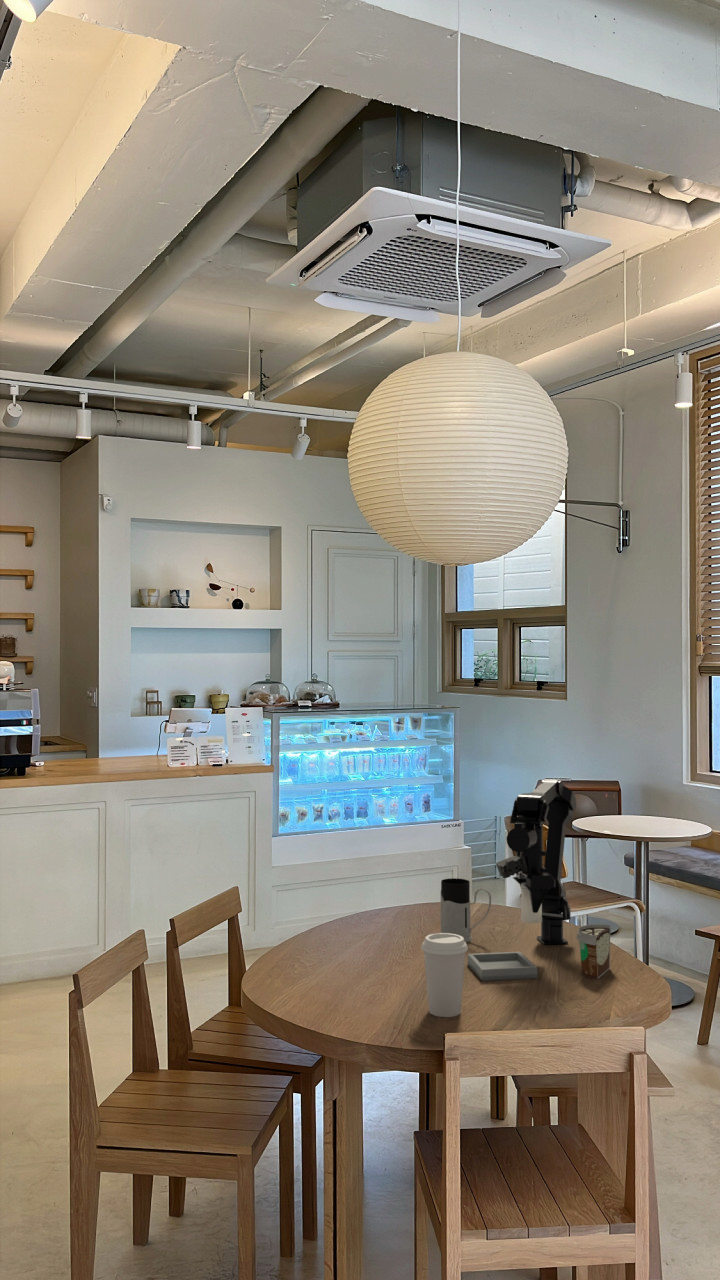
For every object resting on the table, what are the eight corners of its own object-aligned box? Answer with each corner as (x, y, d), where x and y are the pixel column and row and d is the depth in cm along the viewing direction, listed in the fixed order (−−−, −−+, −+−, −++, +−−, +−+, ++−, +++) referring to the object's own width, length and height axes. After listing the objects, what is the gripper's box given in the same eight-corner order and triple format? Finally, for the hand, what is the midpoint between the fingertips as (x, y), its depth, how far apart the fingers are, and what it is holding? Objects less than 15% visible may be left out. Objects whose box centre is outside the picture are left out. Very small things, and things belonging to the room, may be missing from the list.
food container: (586, 963, 234) (585, 921, 234) (611, 967, 230) (611, 924, 231) (569, 976, 223) (568, 932, 223) (595, 980, 220) (595, 936, 220)
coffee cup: (464, 1003, 204) (464, 931, 205) (471, 1019, 195) (471, 944, 195) (419, 1004, 204) (419, 932, 204) (423, 1020, 194) (423, 944, 195)
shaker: (518, 918, 240) (518, 881, 241) (538, 917, 241) (537, 881, 242) (525, 923, 236) (524, 886, 236) (544, 922, 236) (544, 885, 237)
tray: (467, 964, 233) (467, 953, 233) (520, 962, 235) (520, 951, 235) (481, 980, 220) (481, 969, 220) (537, 978, 222) (537, 967, 222)
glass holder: (446, 932, 262) (445, 876, 263) (496, 938, 256) (496, 881, 257) (434, 940, 254) (433, 882, 255) (485, 946, 248) (485, 887, 249)
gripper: (489, 840, 247) (489, 902, 247) (510, 853, 229) (511, 920, 228) (531, 839, 249) (531, 901, 248) (556, 852, 230) (556, 918, 230)
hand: (531, 910), depth 238 cm, fingers closed on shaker, 5 cm apart
